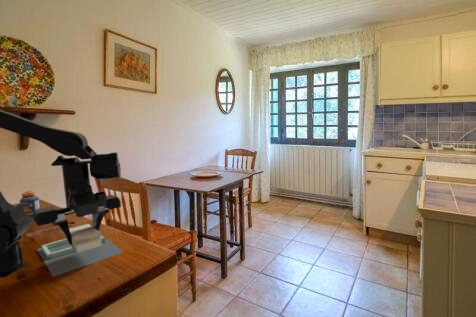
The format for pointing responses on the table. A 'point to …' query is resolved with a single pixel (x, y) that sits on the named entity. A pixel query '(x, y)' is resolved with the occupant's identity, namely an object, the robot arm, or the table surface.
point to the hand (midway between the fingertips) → (83, 240)
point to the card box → (84, 238)
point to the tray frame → (60, 252)
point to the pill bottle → (29, 203)
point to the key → (46, 230)
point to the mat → (77, 257)
